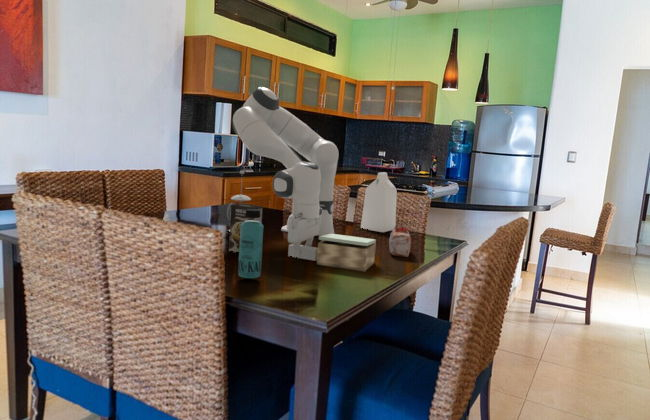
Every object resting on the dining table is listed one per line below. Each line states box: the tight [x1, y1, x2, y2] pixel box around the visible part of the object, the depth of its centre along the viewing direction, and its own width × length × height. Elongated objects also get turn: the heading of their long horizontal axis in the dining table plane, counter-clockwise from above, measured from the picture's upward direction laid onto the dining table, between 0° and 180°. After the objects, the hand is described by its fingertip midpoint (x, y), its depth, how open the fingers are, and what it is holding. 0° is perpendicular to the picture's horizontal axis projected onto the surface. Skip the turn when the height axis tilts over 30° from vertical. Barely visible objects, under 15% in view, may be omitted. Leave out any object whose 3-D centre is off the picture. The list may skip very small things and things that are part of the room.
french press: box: [226, 170, 252, 232], centre depth 203 cm, size 10×12×25 cm
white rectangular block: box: [287, 243, 318, 262], centre depth 170 cm, size 10×3×4 cm, turn 66°
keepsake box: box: [316, 240, 377, 273], centre depth 165 cm, size 16×12×7 cm
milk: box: [360, 171, 398, 233], centre depth 232 cm, size 12×12×26 cm
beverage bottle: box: [237, 209, 264, 279], centre depth 139 cm, size 6×7×20 cm
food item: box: [388, 226, 412, 258], centre depth 185 cm, size 14×8×10 cm, turn 176°
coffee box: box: [228, 202, 264, 253], centre depth 171 cm, size 9×6×16 cm
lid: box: [318, 233, 377, 246], centre depth 165 cm, size 16×13×1 cm
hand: (302, 252), depth 170 cm, fingers open, 8 cm apart
